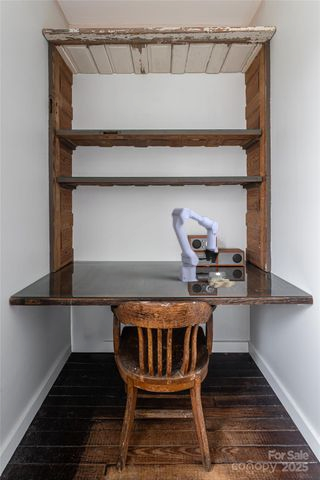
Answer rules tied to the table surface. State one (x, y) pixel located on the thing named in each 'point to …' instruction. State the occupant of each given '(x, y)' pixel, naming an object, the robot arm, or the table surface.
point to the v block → (215, 279)
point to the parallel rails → (221, 283)
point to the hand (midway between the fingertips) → (210, 262)
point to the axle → (216, 275)
